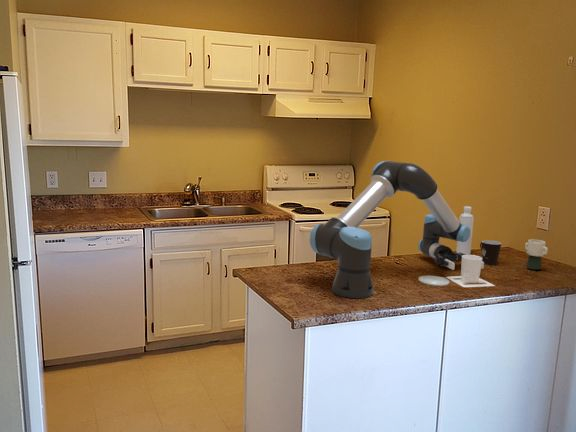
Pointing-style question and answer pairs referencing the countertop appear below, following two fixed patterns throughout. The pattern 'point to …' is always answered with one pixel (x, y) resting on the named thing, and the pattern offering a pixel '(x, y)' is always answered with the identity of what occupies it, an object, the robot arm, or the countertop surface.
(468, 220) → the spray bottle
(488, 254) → the coffee mug
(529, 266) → the character mug
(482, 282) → the white square tray
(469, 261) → the white cup
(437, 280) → the coaster
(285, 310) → the countertop surface
